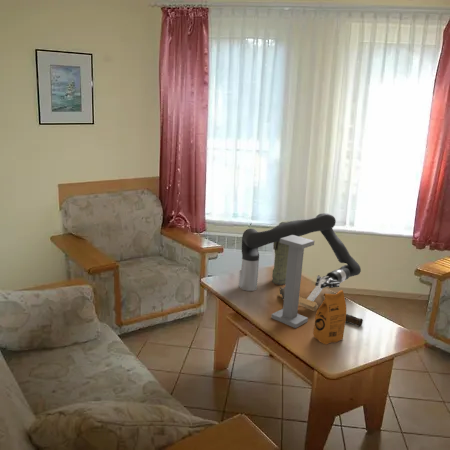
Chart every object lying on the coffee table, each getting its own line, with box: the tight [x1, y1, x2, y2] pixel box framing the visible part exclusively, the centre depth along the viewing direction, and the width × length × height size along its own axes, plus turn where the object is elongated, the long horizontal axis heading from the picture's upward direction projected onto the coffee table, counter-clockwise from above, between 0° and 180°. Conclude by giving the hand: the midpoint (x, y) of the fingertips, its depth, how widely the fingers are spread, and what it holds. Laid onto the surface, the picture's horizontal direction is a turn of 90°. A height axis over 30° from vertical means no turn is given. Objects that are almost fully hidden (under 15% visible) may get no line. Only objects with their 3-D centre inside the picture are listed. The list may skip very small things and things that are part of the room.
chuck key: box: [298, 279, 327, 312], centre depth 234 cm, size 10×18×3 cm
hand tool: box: [345, 313, 364, 328], centre depth 224 cm, size 19×4×5 cm, turn 48°
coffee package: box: [312, 289, 347, 345], centre depth 203 cm, size 10×12×22 cm
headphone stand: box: [270, 235, 315, 329], centre depth 216 cm, size 14×10×40 cm
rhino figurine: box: [279, 286, 285, 301], centre depth 243 cm, size 4×14×6 cm, turn 17°
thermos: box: [271, 221, 289, 286], centre depth 263 cm, size 9×12×35 cm
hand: (318, 285), depth 236 cm, fingers closed on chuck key, 2 cm apart
